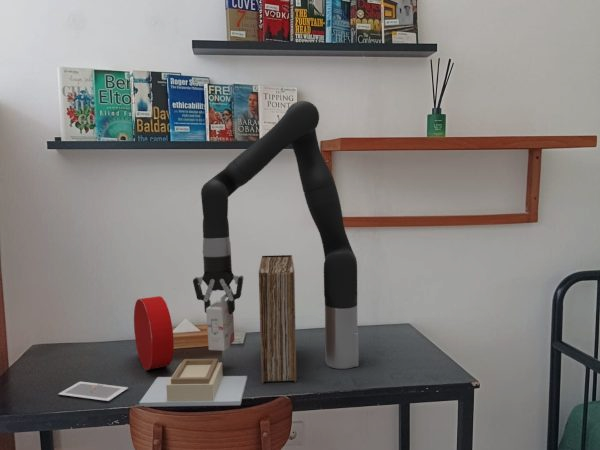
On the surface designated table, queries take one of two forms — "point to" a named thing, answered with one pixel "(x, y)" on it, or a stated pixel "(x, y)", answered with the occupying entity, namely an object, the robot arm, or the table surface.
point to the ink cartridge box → (220, 325)
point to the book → (277, 318)
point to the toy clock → (153, 332)
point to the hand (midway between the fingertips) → (220, 313)
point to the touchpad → (93, 391)
